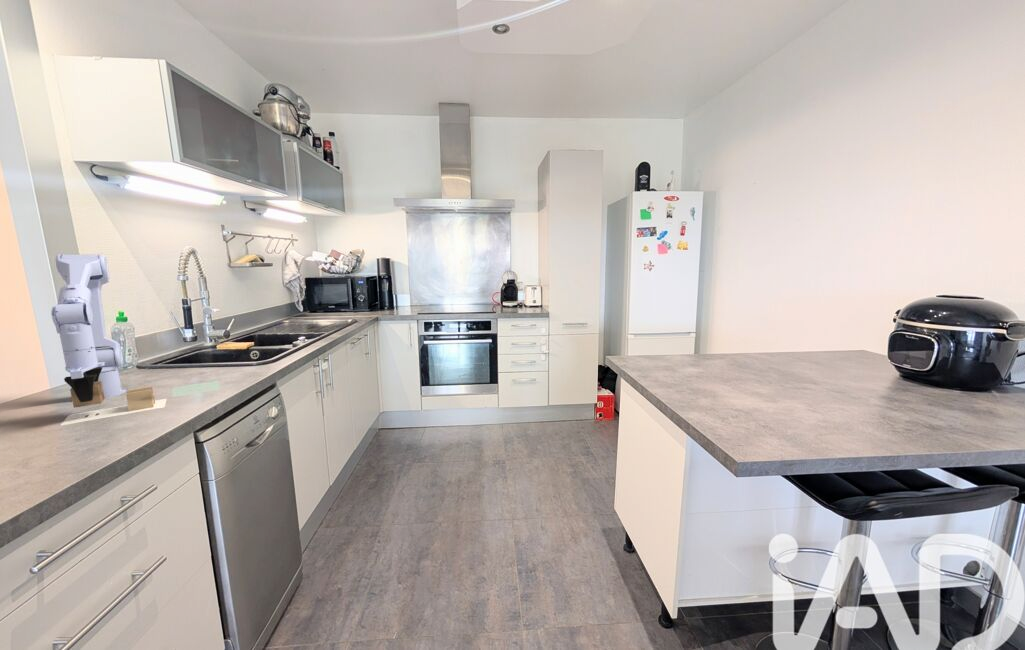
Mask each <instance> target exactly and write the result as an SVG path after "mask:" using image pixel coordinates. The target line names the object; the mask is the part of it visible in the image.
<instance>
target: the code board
mask: <svg viewBox="0 0 1025 650" xmlns="http://www.w3.org/2000/svg"><path fill="white" fill-rule="evenodd" d="M166 403H167V398H162V399H161V398H160V399H155V404H154V407H151V408H145V409H139V410H133V411H129V407H128V404H125V405H120V406H116V407H115V406H114V407H108V408H101V409H97V410H95V409H94V410H90V411H85V412H79V413H73V414H68V416H67V417H65V419H64V420H63V421H62V422H61V423H60V427H61V426H65V425H66V426H67V425H71V424H77V423H84V422H87V421H94V420H100V419H104V418H111V417H117V416H122V415H128V414H133V413H134V414H135V413H138V412H139V413H140V412H145V411H150V410H157V409H161V408H162V409H163V408H165V407H166Z"/></svg>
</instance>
